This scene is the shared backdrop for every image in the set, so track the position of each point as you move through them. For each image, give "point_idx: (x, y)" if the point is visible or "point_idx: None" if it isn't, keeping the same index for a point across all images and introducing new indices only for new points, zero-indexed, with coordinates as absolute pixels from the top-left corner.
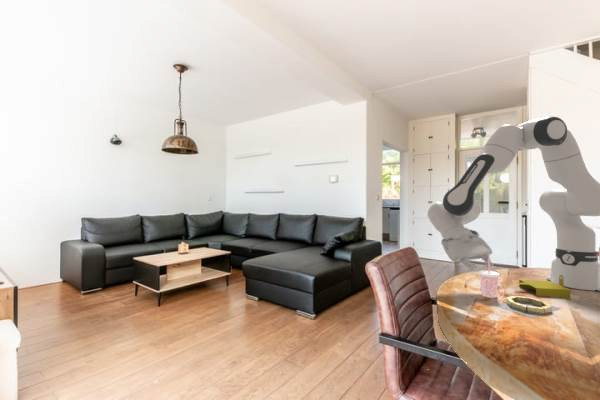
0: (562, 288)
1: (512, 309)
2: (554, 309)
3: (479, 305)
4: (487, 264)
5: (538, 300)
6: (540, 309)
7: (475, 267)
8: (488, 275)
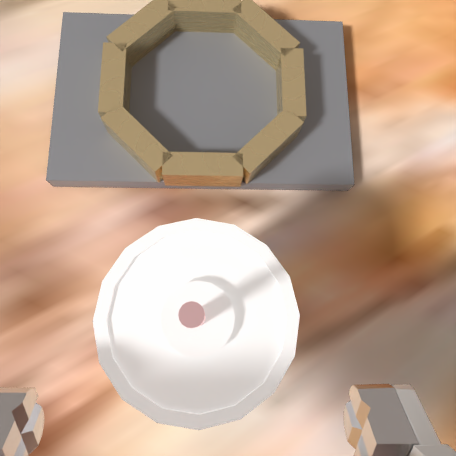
0: None
1: (324, 114)
2: (116, 20)
3: (385, 264)
4: (16, 450)
5: (118, 64)
6: (257, 8)
7: (386, 389)
8: (283, 271)
